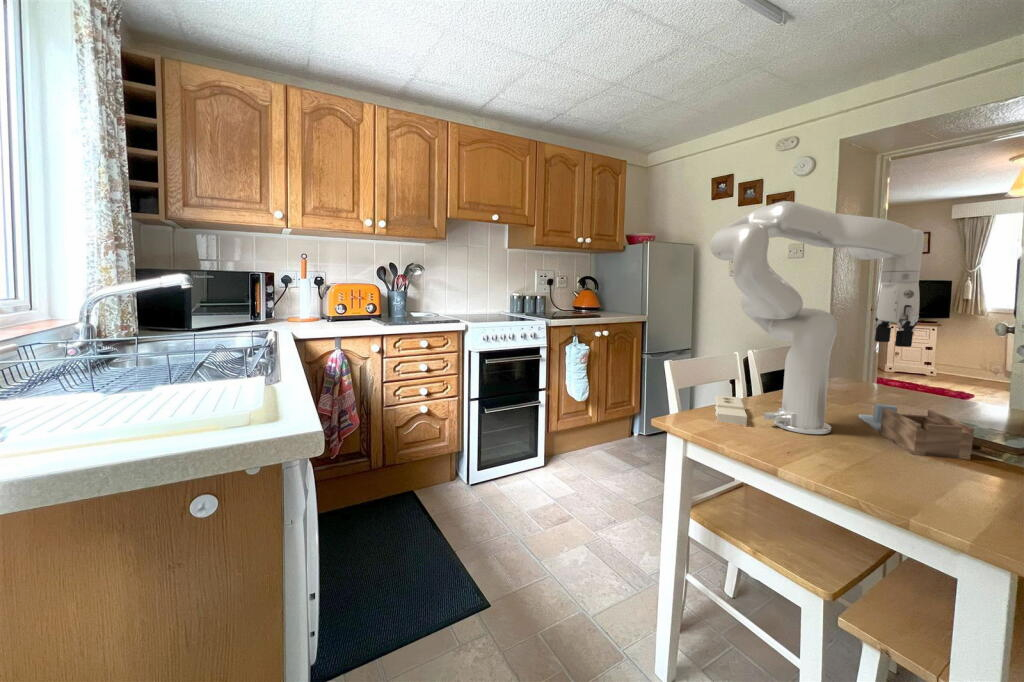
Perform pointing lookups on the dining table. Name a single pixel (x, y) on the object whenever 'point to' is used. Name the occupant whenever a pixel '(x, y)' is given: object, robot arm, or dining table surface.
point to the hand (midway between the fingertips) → (892, 344)
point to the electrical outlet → (730, 410)
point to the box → (928, 434)
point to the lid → (876, 415)
